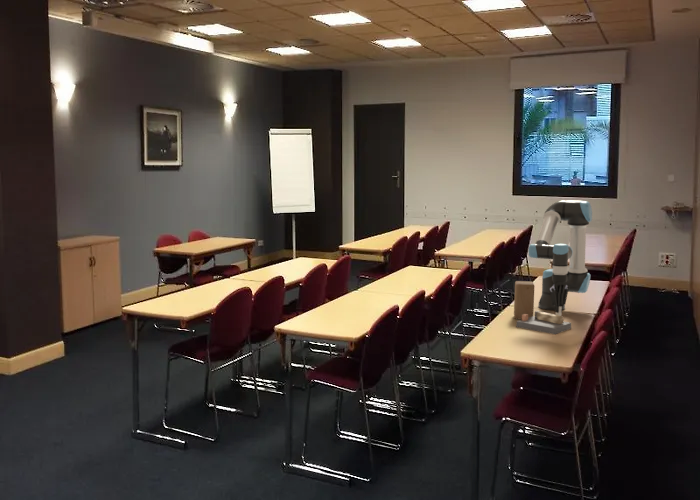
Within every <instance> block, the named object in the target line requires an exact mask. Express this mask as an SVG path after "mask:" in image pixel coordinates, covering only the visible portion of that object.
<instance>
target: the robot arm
mask: <svg viewBox="0 0 700 500" xmlns="http://www.w3.org/2000/svg"><path fill="white" fill-rule="evenodd" d="M592 220H593V209H592V205H591V202H589V201H587V200H564V199H563V200H558V201H556V202H554V203H552V204H550V205H549V206H548V207H547V209H545V212H544V213H543V221H542V224H541V227H540V230H539V232H538V235H537V239H536V241H535V243H531V244H529V246H528V256H529V258H532V259H544V260H552V268H549V269H546V270H543V271H542V280H541V281H542V283H541V284H542V285H541V286H542V287H541V296H540V297H539V301H538V304H537V305H538V306H537V307H539V309H543V310H549V311H554V312H555V314H554V315H559V316H562V312H563V310H565V308H566V302H567V298H568V294H569V293H578V294H579V293H580V294H585V293H587V292H588V289H589V287H590V283H591V282H590V281H591V274H590V272H588V268H587V267H586V239H587V236H586V235H587V234H586V233H587V230H586V229H587V227H588V226H589V224H590V223H591V222H592ZM561 221H564V222H565V221H566V222H567V225H568V227H569V245H568V244H566V243H554V244H551V242H552V239H553V237H554V234H555V231H556V229H557V227H558V224H559V223H560V222H561ZM568 264H569V266H568Z"/></svg>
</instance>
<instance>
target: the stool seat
mask: <svg viewBox="0 0 700 500" xmlns="http://www.w3.org/2000/svg"><path fill="white" fill-rule="evenodd" d="M515 324H516V328H521V329H527V330H532V331H537V332H541V333H547V334H552V335H556V334H557V335H558V334H559V333H562V332H566V331H569V330H570V329H572V322H569V321H563V323H562V324H556V323H552V322H548V321H544V320H539V319H535V315H533V316H532V317H528V314H523V315H522V319H518V320H517V321H516V323H515Z"/></svg>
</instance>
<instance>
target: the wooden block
mask: <svg viewBox="0 0 700 500" xmlns="http://www.w3.org/2000/svg"><path fill="white" fill-rule="evenodd" d="M534 301H535V283H534V281H525V280H524V281H523V280H516V281H515V282H514V301H513V302H514V303H513V317H514V319H515V320H522V315H523V314H528V317H532V316H534V313H535V311H534V308H535V307H534V305H535V302H534Z"/></svg>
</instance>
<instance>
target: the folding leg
mask: <svg viewBox="0 0 700 500" xmlns="http://www.w3.org/2000/svg"><path fill="white" fill-rule="evenodd" d="M534 316H535V319H539V320H544V321H548V322H552V323H556V324H562V323H563V321H564V320H565V317H564V316H563V315H561V316H559V315H555V314H554V313H549V312H544V311H539V310H535V311H534ZM564 322H565V321H564Z"/></svg>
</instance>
